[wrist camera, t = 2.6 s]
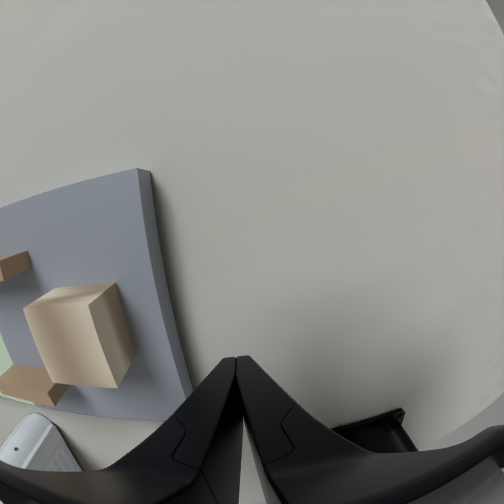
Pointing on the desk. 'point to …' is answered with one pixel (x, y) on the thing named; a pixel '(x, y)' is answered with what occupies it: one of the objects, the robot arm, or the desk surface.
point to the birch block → (82, 335)
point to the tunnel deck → (87, 273)
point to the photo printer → (38, 447)
